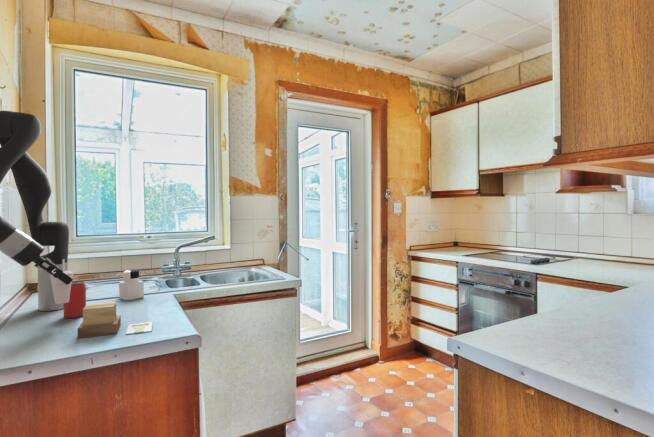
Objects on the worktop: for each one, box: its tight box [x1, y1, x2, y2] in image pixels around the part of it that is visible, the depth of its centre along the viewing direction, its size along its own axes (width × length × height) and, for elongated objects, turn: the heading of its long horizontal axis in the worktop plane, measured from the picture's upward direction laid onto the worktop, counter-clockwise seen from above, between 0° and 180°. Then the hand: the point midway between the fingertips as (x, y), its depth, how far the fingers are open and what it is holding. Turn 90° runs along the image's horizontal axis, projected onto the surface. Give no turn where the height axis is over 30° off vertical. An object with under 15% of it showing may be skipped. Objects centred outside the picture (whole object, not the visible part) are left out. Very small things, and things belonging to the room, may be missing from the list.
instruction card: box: [125, 321, 153, 336], centre depth 116 cm, size 10×7×1 cm
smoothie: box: [49, 259, 75, 304], centre depth 118 cm, size 6×6×14 cm
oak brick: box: [82, 301, 117, 326], centre depth 113 cm, size 6×8×5 cm
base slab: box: [77, 315, 122, 339], centre depth 113 cm, size 10×10×3 cm
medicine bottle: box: [118, 269, 145, 301], centre depth 157 cm, size 7×7×12 cm
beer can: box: [63, 280, 87, 319], centre depth 130 cm, size 7×7×12 cm
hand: (67, 280), depth 119 cm, fingers closed on smoothie, 6 cm apart
